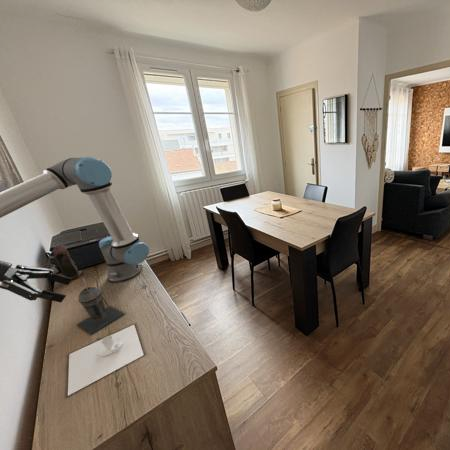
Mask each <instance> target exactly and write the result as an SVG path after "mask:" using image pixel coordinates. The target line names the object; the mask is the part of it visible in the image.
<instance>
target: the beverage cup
mask: <svg viewBox="0 0 450 450" xmlns="http://www.w3.org/2000/svg"><path fill="white" fill-rule="evenodd" d="M82 281H83V284H84V286H85V288H83V289H82V290H81V291H80V292H79V294H78V302H79V303H80V305H82V306H83V308H84V309H85V311H86V313H87V314H88V316H89V318H90V317H91V318H92V320H93V321H94V322H95V323H99V322H102V321H104V320H105V319H106V318H107V313H106V309H105V308H106V307H105V303H104V300H103V294H102V293H103V292H102V291H101V290H100V289H99V288H98V287H95V286H88V284H87V282H86V280H85V278H84V277H82Z"/></svg>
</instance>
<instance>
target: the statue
mask: <svg viewBox="0 0 450 450" xmlns="http://www.w3.org/2000/svg"><path fill="white" fill-rule="evenodd" d="M52 253H53V256H54V258H55V261H56V262H57V264H58V266H59V268H60V270H61V272H62V274H63V276H65V277H69V278H73V279H72V280H74V279H78V278H80V277H81V275H82V274H83V270H78V267H77V265H76V262H75V261H74V260H73V259H72V257H71V255H70V252H69V251H68V249H67V247H66V245H64V244H63V245H58V246H55V247H54V248H53V250H52Z"/></svg>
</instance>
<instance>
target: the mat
mask: <svg viewBox="0 0 450 450" xmlns="http://www.w3.org/2000/svg"><path fill="white" fill-rule="evenodd" d="M105 309H106V313H107V318H106V319H105V320H104V321H102V322H99V323H95V322H94V321H93V320H92V318H91V317H90V316H89V317H88V318H86V319H85V320H82V321H80V322H79V323H77V324H76V325H77V326H79V327H80V328H81V329H83V330H84V331H86V332H88V333H89V334H90V335H93V334H95V333H97V332H98V331H100V330H101V329H103V328H104V327H106V326H108V325H110V324H111V323H112V322H115V321H116V320H117V319H119V318H121V317H122V316H124V315H125V313H124V312H122V311H120V310H118V309H116V308H114V307H112V306H111V305H110V306H107V307H105Z"/></svg>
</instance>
